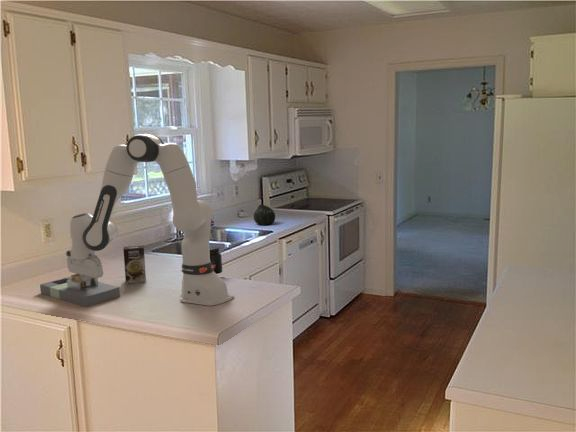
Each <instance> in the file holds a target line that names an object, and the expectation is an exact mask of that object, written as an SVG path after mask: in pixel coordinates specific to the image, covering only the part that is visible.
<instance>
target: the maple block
mask: <svg viewBox="0 0 576 432" xmlns="http://www.w3.org/2000/svg"><path fill="white" fill-rule="evenodd" d="M70 276H71V280H74V281H77V282H80V287H81V288H82V287H85V286H86V285H83V281H82V279H81V277H80V274H76V273H73V274H71V275H70Z"/></svg>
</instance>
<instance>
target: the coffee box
mask: <svg viewBox="0 0 576 432" xmlns="http://www.w3.org/2000/svg"><path fill="white" fill-rule="evenodd" d="M145 258H146V257H145V246H144V244H143V245H131V246H130V245H129V246H123V260H124V261H123V262H124V263H123V264H124V277H125V284H126V285H127V284H128V283H129V284H139V283H146V282H147V273H146V272H147V271H146V261H145Z"/></svg>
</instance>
